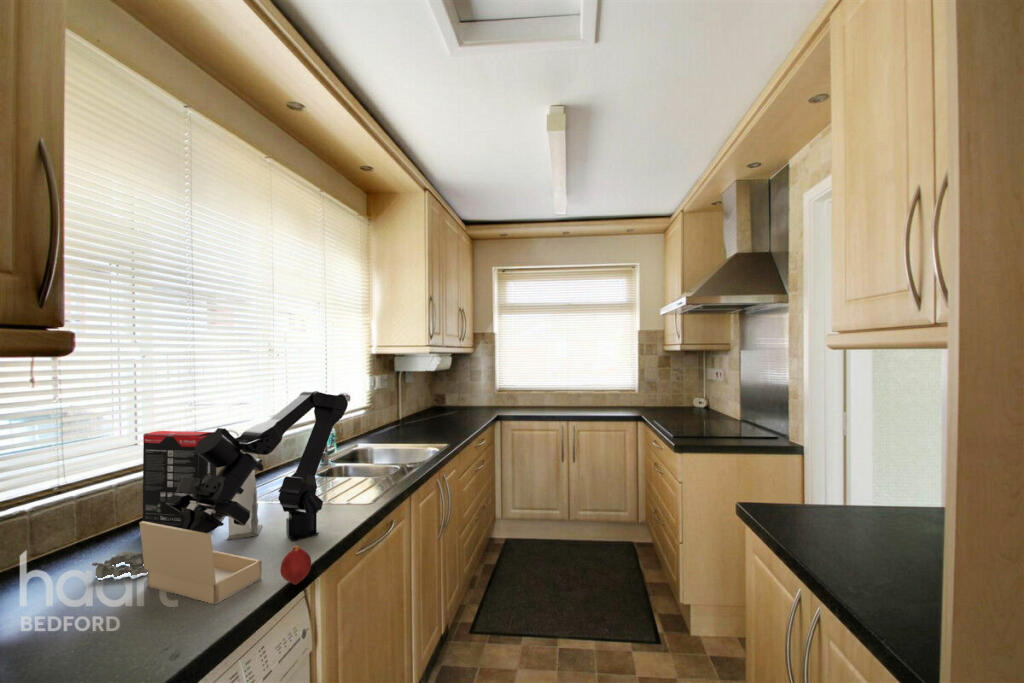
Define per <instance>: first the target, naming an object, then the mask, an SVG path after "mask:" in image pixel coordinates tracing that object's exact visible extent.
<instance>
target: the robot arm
mask: <svg viewBox="0 0 1024 683" xmlns="http://www.w3.org/2000/svg"><path fill="white" fill-rule="evenodd" d="M348 405H349V402H348V399H347V397H346V396H345V395H344V394H342V393H324V392H322V391H321V392H320V391H318V390H304V391H302V392H300V394H299V395H298V396H297V397H296V398H295V399H293V401H291V402H290V403H289V404H287V405H286V406H285V407H283V408H282V409H281V410H280V411H279V412H277V414H275V415H274V416H272V417H271V418H270V419H268V420H266V421H263V422H261V423H258V424H256V425H253V426H251V427H250V428H248V429H246V430H245V431H243V432H242V433H240V434H241V436H238V437H237V436H236V437H234V436H233V435H232V434H231V433H230V432H228V431H227V430H228V429H226V428H225V427H217V429H216V430H214V431H212V432H213V433H210V434H208V435H207V436H205V437H204V438H203V439H201V440H200V441H199V442H198V443H197V445H196V447H195V452H196V453H197V454H198V455H200V456H201V457H202V458H204V459H205V460H206V461H208V462H209V463H210V464H211V465H213V466H214V467H216V469H218V468H221V469H220V470H219V472H218V473H216V476H214V475H206V476H205V477H204V478H203V479H198V478H191V477H184V476H183V477H182V479H181V482H180V484H179V486H178V488H177V491H176V492H179V493H176V494H173V495H172V496H171V497H170V498H169V499H168V501H167V502H166V504H167V505H169V506H171V507H172V508H174V509H175V510H177V511H179V512H180V513H182V514H184V515H185V522H184V526H183V529H187V530H192V531H197V532H203V533H208V534H210V533H211V532H212V531H214V530H215V529H217V528H219V527H223V526H224V524H225V523H224V522H223V521H224V520H225V518H226V517H231V518H233V519H234V524H237V525H242V526H245V524H246V523H247V521H248V520H249V518H250V511H249V510H247V509H246V508H245V507H243V506H242V505H241V504H239V503H238V502H236V501H232V499H233V498H234V497H235V495H236V494H242V492H243V491H244V490H243V489H242V488H241V487H242V485H243V484H244V482H245V481H246V480H247V478H248V477H249V475H250V474H251V473H252V471H253V470H255V471H258V472H262V471H264V465H263V459H262V458H257V459H256V458H254V457H253V456H251V455H250V454H258V455H264V456H267V455H269V454H271V453H273V451H274V450H275V449H276V448H277V447H278V446H279V444H280V443H281V442H282V441H283V437H284V434H285V433H286V432H287V431H288V430H290V428H292V427H293V426H294V425H295V424H296V423H297V422H299V420H301V419H302V418H303V417H304V416H306V415H307V414H308V413H309V412H310V411H311V410H312V409H314V410H313V413H314V414H313V415H314V419H315V422H314V424H313V427H312V429H311V432H310V435H309V437H308V440H307V443H306V445H305V448H304V450H303V453H302V455H301V458H300V460H299V462H298V465H297V467H296V470H295V471H294V473H292V474H291V476H288V475H287V476H285V477H284V479H283V480H282V484H281V486H280V488H279V490H277V491H278V492H279V493H278V494H279V495H278V498H277V499H278V501H279V504H280V505H281V507H282V510H283V512H284V513H286V512H287V513H288V517H287V518H286V520H285V521H286V523H285V524H286V526H285V527H286V529H285V530H286V531H285V532H286V535H287V536H288V537H289V538H290V540H291V541H297V540H301V539H304V537H305V538H308V537H307V536H309V537H312V536H311V535H313V536H316V535H315V534H317V535H319V534H318V533H319V531H318V530H317V522H318V521H317V520H318V519H317V517H318V515H317V514H318V513H319V511H321V510H322V508H323V505H324V501H323V500H322V499H321V498H320V497H319V496H318V495H316V492H317V488H318V485H317V479H316V475H317V472H318V468H319V466H320V463H321V461H322V458H323V456H324V453H325V451H326V446H327V444H328V442H329V438H330V435H331V434H332V431H333V428H334V426H335V425H336V424H337V423H338V422H339V421H340V420H341V419H342V418H343V417H344V414H345V413H346V411H347V409H348ZM240 450H242V452H244V453H242V452H241V451H240ZM248 453H250V454H248ZM181 492H185V493H186V494H183V493H181ZM189 494H192V496H193V497H192V496H191V495H189ZM195 498H196V499H195ZM197 499H198V500H199V501H198V500H197ZM204 507H206V508H204Z"/></svg>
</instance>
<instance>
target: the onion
mask: <svg viewBox="0 0 1024 683" xmlns="http://www.w3.org/2000/svg"><path fill="white" fill-rule="evenodd" d="M311 566H312V558H311V556H310V554H309V553H308V552H307V551H306V550H305V549H304V548H300V546H299V545H294V546H293V547H292V550H291V551H289V552H288V553H287V554H286V555H285V556H284V557H283V559H282V561H281V564H280V576H281V577H282V579H284V581H287V582H289V583H291V584H292V585H298V584H299V583H300V582H302V581H303V580H304V579H305V578H306V576H307V577H308V575H309V573H310V571H311Z"/></svg>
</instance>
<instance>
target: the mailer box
mask: <svg viewBox="0 0 1024 683" xmlns="http://www.w3.org/2000/svg"><path fill="white" fill-rule="evenodd" d="M213 559H214V570H215V580H216V584H215V585H214V586H211V585H207V584H203V583H199V582H195V581H191V580H187V579H183V578H179V577H174V576H170V575H166V574H162V573H158V572H154V571H150V570H148V575H147V588H149V589H154V588H155V590H157V589H160V590H159V591H161V590H164V591H163V592H165V591H167V592H166V593H169V592H171V593H170V594H172V593H176V594H179V595H178V596H180V595H183V596H182V597H184V596H187V597H190V598H189V599H191V598H193V599H192V600H195V599H198V600H201V601H200V602H202V601H205V602H204V603H206V602H208V603H207V604H210V603H213V604H217V603H218V604H220V603H222V602H224V601H225V600H224V599H226V598H227V599H229V598H231V597H232V596H231V595H233V594H234V595H236V594H238V593H240V592H241V591H240V590H242V589H243V590H245V589H247V588H248V587H247V586H249V585H250V586H252V585H254V584H255V583H254V582H256V581H258V580H259V581H261V580H262V560H261V559H256V558H251V557H247V556H242V555H239V554H238V555H236V554H232V553H228V552H222V551H217V550H214V549H213ZM260 579H261V580H260ZM259 581H258V582H259ZM253 583H254V584H253ZM256 583H257V582H256ZM251 584H252V585H251ZM250 586H249V587H250ZM246 587H247V588H246ZM244 588H245V589H244ZM243 590H242V591H243ZM239 591H240V592H239ZM237 592H238V593H237ZM235 593H236V594H235ZM176 594H175V595H176ZM234 595H233V596H234ZM230 596H231V597H230ZM187 597H186V598H187ZM228 597H229V598H228ZM227 599H226V600H227ZM198 600H197V601H198ZM223 600H224V601H223ZM221 601H222V602H221ZM219 602H220V603H219ZM213 604H212V605H213ZM218 604H217V605H218Z"/></svg>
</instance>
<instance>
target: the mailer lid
mask: <svg viewBox="0 0 1024 683" xmlns="http://www.w3.org/2000/svg"><path fill="white" fill-rule="evenodd" d="M139 529H140V539H141V548H142V552H143V560H144V569H146V570H150V571H154V572H158V573H162V574H166V575H170V576H174V577H179V578H183V579H187V580H191V581H195V582H199V583H203V584H207V585H211V586H214V585H215V584H216V580H215V570H214V559H213V550H214V549H213V540H212V534H211V533H203V532H197V531H192V530H187V529H182V528H176V527H171V526H166V525H161V524H155V523H150V522H145V521H143V520H141V521H139Z"/></svg>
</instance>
